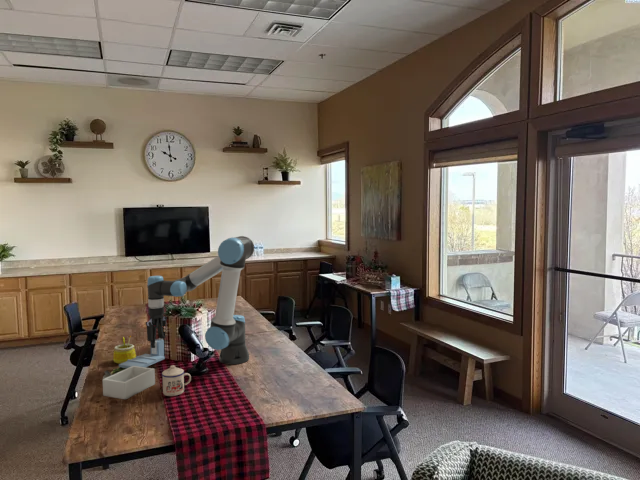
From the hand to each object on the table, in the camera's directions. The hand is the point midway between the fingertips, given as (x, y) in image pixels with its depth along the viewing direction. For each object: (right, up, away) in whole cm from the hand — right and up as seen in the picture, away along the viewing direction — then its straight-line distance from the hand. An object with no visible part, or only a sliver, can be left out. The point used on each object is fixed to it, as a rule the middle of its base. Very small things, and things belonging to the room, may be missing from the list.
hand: (157, 352), depth 246 cm
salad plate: (-9, -8, -18) cm, 22 cm away
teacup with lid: (+21, -8, -38) cm, 44 cm away
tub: (-1, -8, -35) cm, 36 cm away
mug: (-18, -6, +4) cm, 19 cm away
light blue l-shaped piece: (-3, -3, -8) cm, 9 cm away
